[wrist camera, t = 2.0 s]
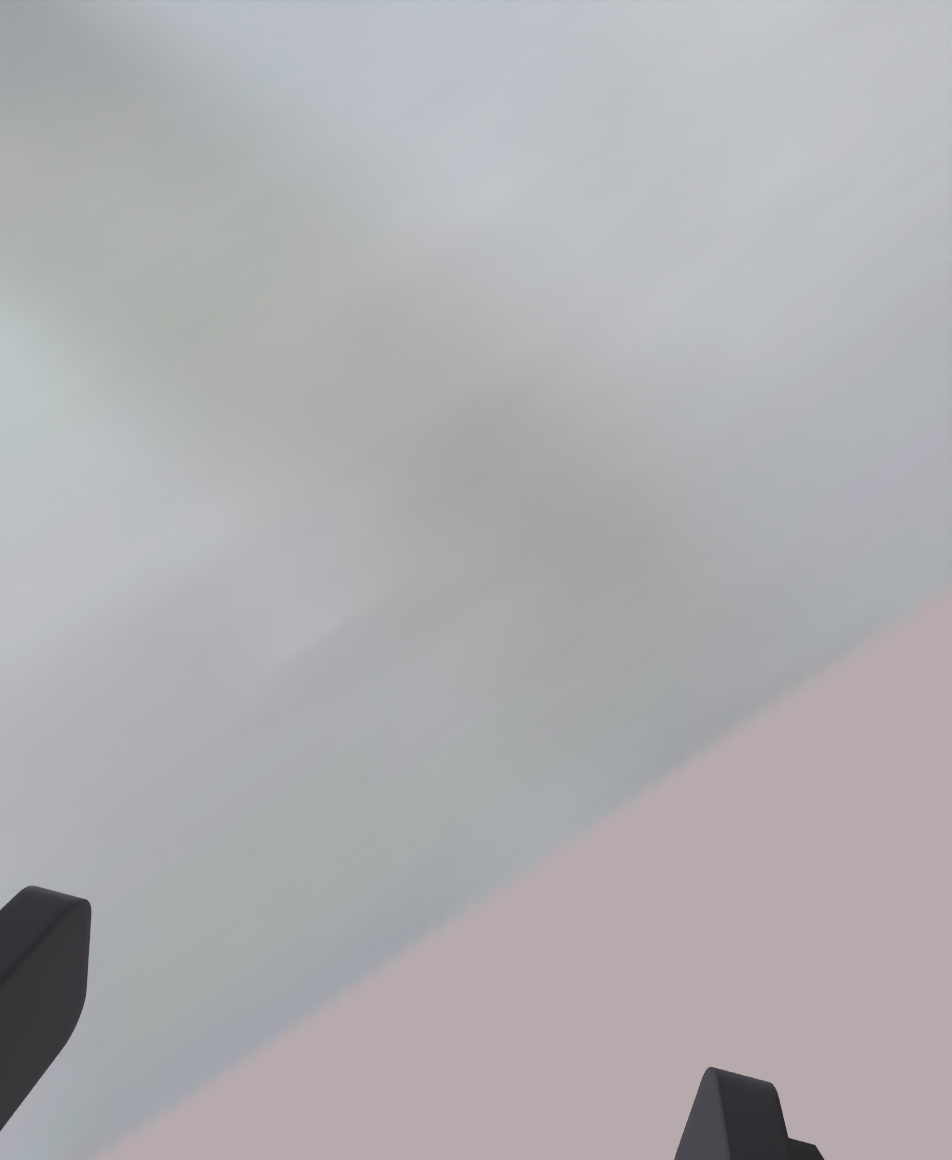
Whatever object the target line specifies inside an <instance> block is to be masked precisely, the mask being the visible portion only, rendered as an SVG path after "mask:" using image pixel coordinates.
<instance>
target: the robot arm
mask: <svg viewBox="0 0 952 1160" xmlns="http://www.w3.org/2000/svg"><path fill="white" fill-rule="evenodd" d="M90 926H91V905H90V903H89V901H88V900H86V899H82V898H78V897H75V896H71V895H67V894H63V893H60V892H56V891H52V890H48V889H44V888H41V887H37V886H28V887H26V888H24V889H23V890H21V891H20V892H19V893H18V894H17V895H16V896H15V897H13V898H12V899H11V900H10V901H9V902H8V903H7V904H6V905H5V906H4V907H3V908H2V909H1V910H0V1131H1V1130H2V1128H3V1127H4V1126H5V1124H6V1123H7V1122H8V1120H9V1119H10V1118H11V1116H12V1115H13V1114H14V1112H15V1111H16V1110H17V1108H18V1107H19V1106H20V1104H21V1103H22V1102H23V1100H24V1099H25V1098H26V1096H27V1095H28V1094H29V1092H30V1091H31V1090H32V1088H33V1087H34V1086H35V1084H36V1083H37V1082H38V1080H39V1079H40V1078H41V1077H42V1075H43V1074H44V1073H45V1071H46V1070H47V1069H48V1067H49V1066H50V1065H51V1063H52V1062H53V1061H54V1059H55V1058H56V1057H57V1055H58V1054H59V1053H60V1051H61V1050H62V1049H63V1047H64V1046H65V1044H66V1043H67V1041H68V1040H69V1038H70V1036H71V1034H72V1032H73V1031H74V1029H75V1026H76V1024H77V1022H78V1020H79V1017H80V1015H81V1012H82V1009H83V1005H84V1002H85V997H86V989H87V974H88V958H89V942H90ZM674 1160H824V1158H823V1157H822V1155H821V1154H820V1152H819V1151H818V1149H817V1147H816V1146H815V1145H813V1144H809V1143H805V1142H802V1141H798V1140H794V1139H790V1138H788V1134H787V1130H786V1126H785V1122H784V1118H783V1113H782V1109H781V1105H780V1101H779V1097H778V1094H777V1091H776V1089H775V1087H774V1086H773V1084H772V1083H770V1082H767V1081H763V1080H759V1079H755V1078H751V1077H748V1076H743V1075H740V1074H736V1073H732V1072H728V1071H725V1070H721V1069H717V1068H713V1067H709V1068H708V1069H707V1070H706V1071H705V1073H704V1075H703V1078H702V1080H701V1083H700V1086H699V1089H698V1092H697V1095H696V1098H695V1101H694V1104H693V1106H692V1109H691V1112H690V1115H689V1118H688V1121H687V1123H686V1126H685V1129H684V1132H683V1135H682V1138H681V1141H680V1144H679V1147H678V1149H677V1153H676V1156H675V1159H674Z"/></svg>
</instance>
